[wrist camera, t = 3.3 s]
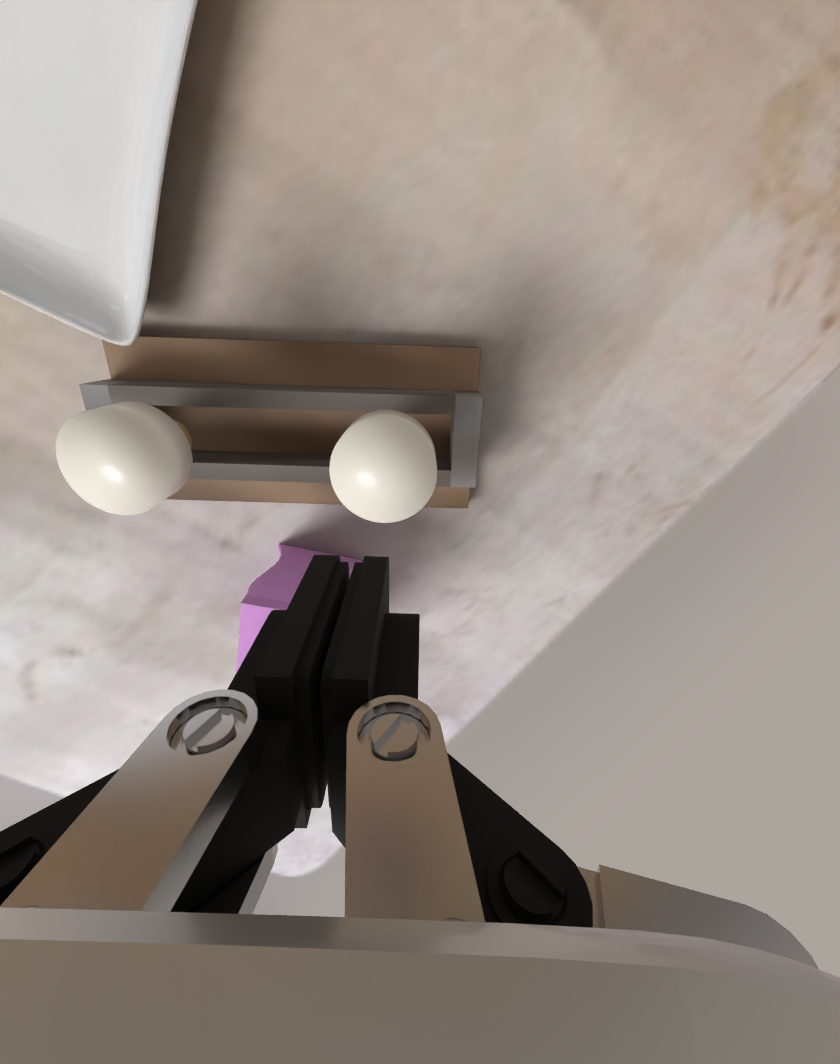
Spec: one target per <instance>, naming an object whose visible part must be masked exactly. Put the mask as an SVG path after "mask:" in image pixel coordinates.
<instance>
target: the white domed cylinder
mask: <svg viewBox="0 0 840 1064" xmlns="http://www.w3.org/2000/svg"><path fill="white" fill-rule="evenodd" d="M329 472H330V480H331V483H332V486H333V489H334V491H335V493H336V495H337V497H338V498H339V500H340V501H341V502H342V504H343V505H344V506H345V507H346V508H347V509H349V510H350V511H351V512H352V513H354V514H356V515H357V516H359V517H361V518H363V519H366V520H369V521H373V522H379V523H392V522H397V521H401V520H404V519H406V518H409V517H411V516H412V515H414V514H416V513H417V512H418V511H420V510H421V509H422V508H423V507H424V506H425V505H426V503H427V502H428V501H429V499H430V497H431V496H432V494H433V491H434V489H435V485H436V481H437V464H436V455H435V448H434V445H433V442H432V439H431V437H430V435H429V434H428V432H427V431H426V429H425V428H424V427H423V426H422V425H421V424H420V423H419V422H418V421H417V420H415V419H414V418H413V417H411V416H409V415H407V414H405V413H402V412H399V411H395V410H376V411H372V412H369V413H366V414H364V415H362V416H361V417H359V418H358V419H356V420H355V421H354V422H353V423H352V424H351V425H350V426H349V427H348V428H347V430H346V431H345V432H344V434H343V435H342V436H341V438H340V439H339V440H338V442H337V444H336V445H335V447H334V449H333V452H332V455H331V459H330V466H329Z"/></svg>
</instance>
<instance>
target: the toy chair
mask: <svg viewBox="0 0 840 1064" xmlns="http://www.w3.org/2000/svg"><path fill="white" fill-rule="evenodd" d="M278 549H279V551H280V554H281V557H280V559H279V561H278V562H277V563H276V564H275V565H274V566H273V567H271V568H270V569H269V570H268V571H266V572H265V573H264V574H262V575H261V576H260V577H258V578H257V579H256V580H255V581H254V582H253V583H252V584H251V585H250V587H249V589H248V592H247V595H246V596H245V598H244V599H243V601H242V602H241V613H240V630H239V647H238V658H237V668H236V673H237V671H238V669H239V668H240V666H241V664H242V662H243V660H244V659H245V657H246V655H247V653H248V651H249V649H250V648H251V646H252V644H253V642H254V640H255V639H256V637H257V635H258V633H259V631H260V629H261V628H262V626H263V624H264V622H265V620H266V619H267V617H268V615H269V614H270V612H271V611H272V610H287V608H288V606H289V604H290V602H291V600H292V598H293V596H294V594H295V592H296V590H297V588H298V586H299V584H300V582H301V580H302V578H303V576H304V574H305V572H306V570H307V568H308V566H309V564H310V562H311V560H312V558H313V556H314V555H334V554H329V553H324V552H319V551H314V550H308V549H303V548H298V547H293V546H288V545H283V544H279V547H278ZM340 561H341V562H348V564H349V573H350V572H351V571H352V570H353V567H354V563H355V562H363V560H359V559H354V558H349V557H344V556H340Z"/></svg>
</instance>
